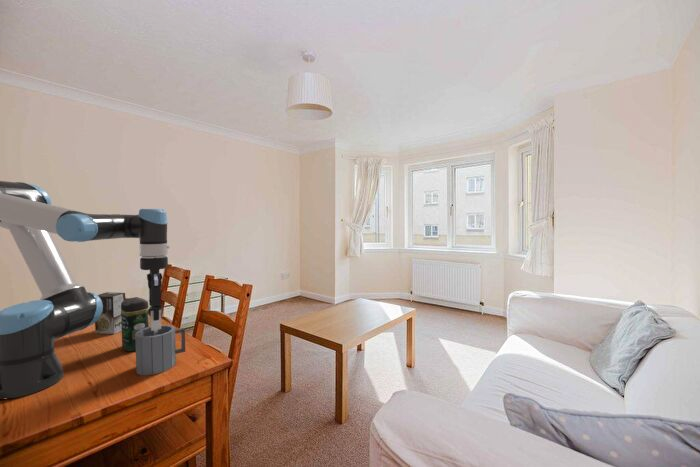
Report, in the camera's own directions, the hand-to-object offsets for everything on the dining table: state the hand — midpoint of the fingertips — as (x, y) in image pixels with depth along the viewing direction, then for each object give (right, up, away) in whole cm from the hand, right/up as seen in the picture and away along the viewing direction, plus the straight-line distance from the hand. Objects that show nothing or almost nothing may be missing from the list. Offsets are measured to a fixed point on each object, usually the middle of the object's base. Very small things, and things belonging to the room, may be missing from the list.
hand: (155, 327), depth 98 cm
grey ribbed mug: (+1, -13, +2) cm, 13 cm away
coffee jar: (-17, -12, +15) cm, 26 cm away
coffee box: (-39, -11, +30) cm, 51 cm away
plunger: (0, -10, 0) cm, 10 cm away
